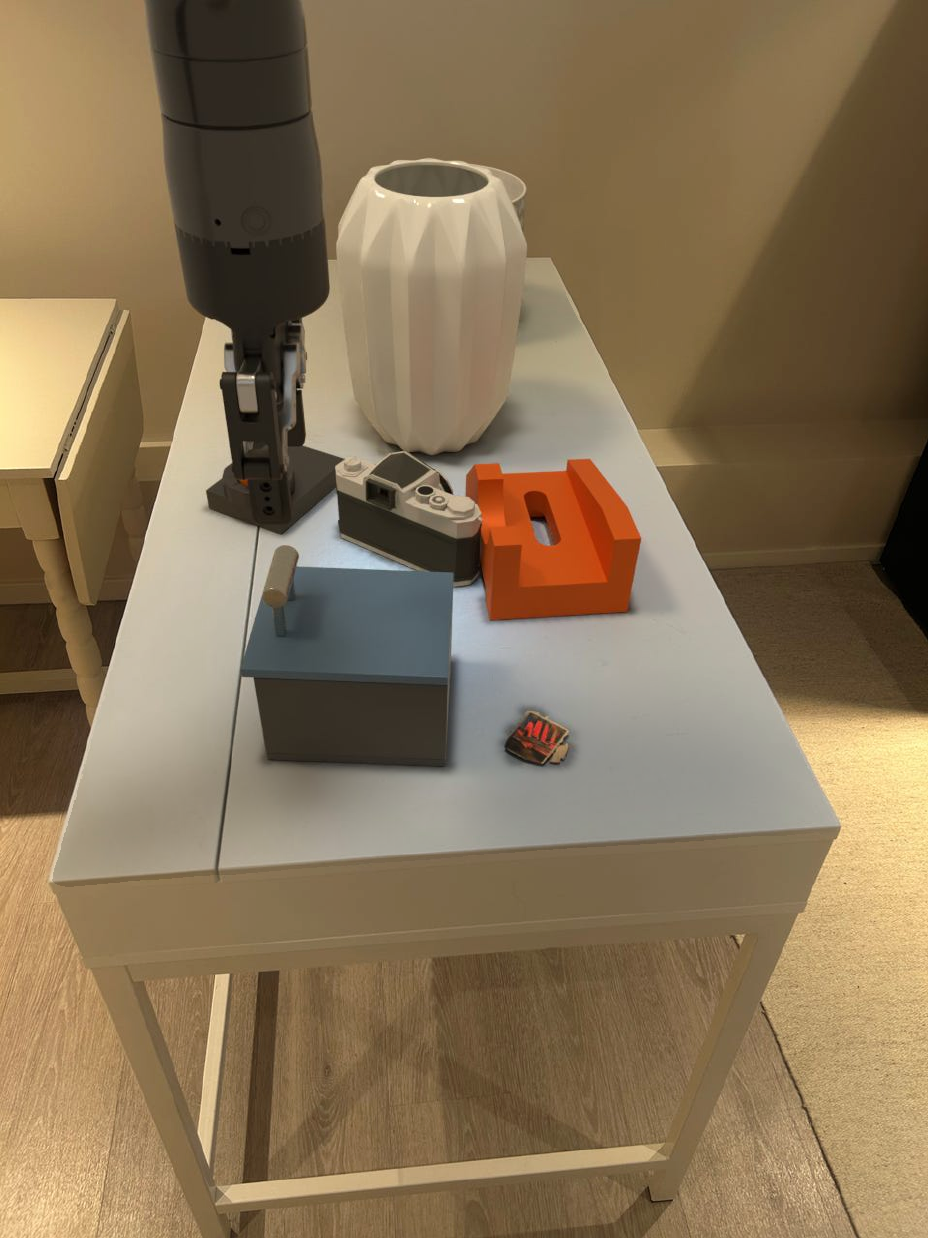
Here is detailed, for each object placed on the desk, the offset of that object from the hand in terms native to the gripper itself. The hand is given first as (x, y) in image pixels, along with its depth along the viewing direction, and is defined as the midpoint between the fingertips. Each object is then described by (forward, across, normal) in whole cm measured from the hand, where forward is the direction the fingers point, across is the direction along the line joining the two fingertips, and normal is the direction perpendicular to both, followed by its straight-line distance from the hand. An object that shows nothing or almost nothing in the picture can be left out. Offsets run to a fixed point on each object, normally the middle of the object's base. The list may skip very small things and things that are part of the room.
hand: (281, 480), depth 58 cm
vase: (+24, -46, +10) cm, 53 cm away
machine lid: (+14, -3, +4) cm, 15 cm away
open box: (+23, -2, +4) cm, 24 cm away
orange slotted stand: (+24, -23, +20) cm, 38 cm away
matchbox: (+23, +1, +18) cm, 29 cm away
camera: (+24, -24, +8) cm, 35 cm away
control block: (+23, -33, -6) cm, 41 cm away
